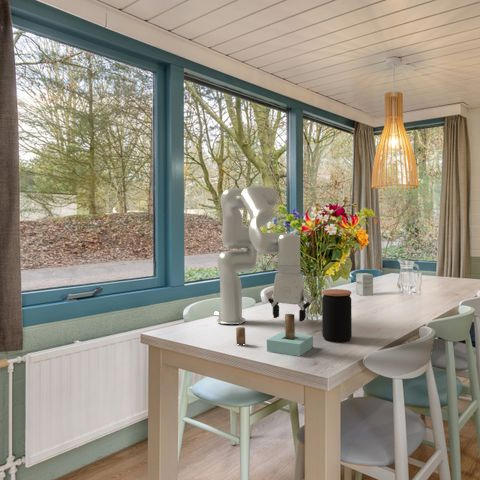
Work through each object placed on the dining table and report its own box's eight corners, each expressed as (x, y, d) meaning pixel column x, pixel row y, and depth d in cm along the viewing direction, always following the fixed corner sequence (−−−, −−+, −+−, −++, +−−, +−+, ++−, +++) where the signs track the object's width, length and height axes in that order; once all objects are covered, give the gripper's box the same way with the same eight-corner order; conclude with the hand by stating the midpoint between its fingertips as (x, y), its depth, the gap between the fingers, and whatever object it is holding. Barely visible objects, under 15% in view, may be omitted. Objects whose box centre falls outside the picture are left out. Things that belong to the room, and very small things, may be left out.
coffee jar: (347, 335, 168) (346, 288, 168) (355, 342, 158) (355, 293, 157) (319, 335, 168) (319, 289, 167) (326, 343, 157) (325, 293, 157)
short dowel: (235, 345, 157) (234, 328, 157) (239, 343, 160) (238, 326, 159) (242, 346, 155) (242, 329, 155) (247, 344, 158) (246, 327, 158)
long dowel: (284, 349, 150) (283, 315, 150) (287, 347, 153) (287, 313, 153) (292, 351, 149) (292, 316, 148) (296, 348, 151) (295, 314, 151)
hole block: (266, 351, 149) (266, 339, 149) (281, 342, 159) (281, 331, 159) (299, 356, 143) (299, 344, 143) (313, 347, 153) (312, 335, 153)
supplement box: (355, 294, 263) (355, 273, 263) (366, 293, 266) (366, 272, 265) (362, 296, 256) (362, 274, 256) (373, 295, 259) (373, 274, 258)
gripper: (261, 269, 151) (261, 318, 152) (308, 273, 142) (308, 324, 143) (271, 267, 158) (271, 314, 159) (316, 270, 149) (316, 319, 150)
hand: (288, 319), depth 151 cm, fingers open, 9 cm apart
